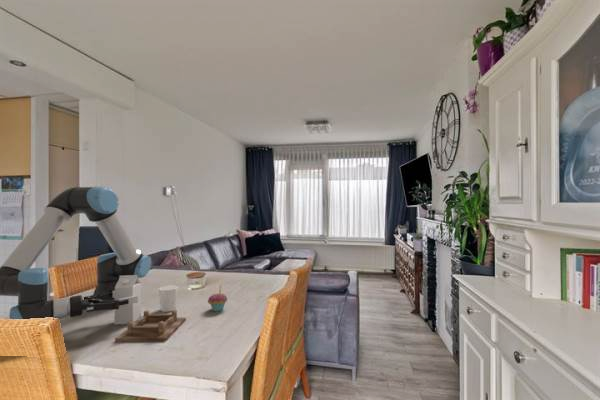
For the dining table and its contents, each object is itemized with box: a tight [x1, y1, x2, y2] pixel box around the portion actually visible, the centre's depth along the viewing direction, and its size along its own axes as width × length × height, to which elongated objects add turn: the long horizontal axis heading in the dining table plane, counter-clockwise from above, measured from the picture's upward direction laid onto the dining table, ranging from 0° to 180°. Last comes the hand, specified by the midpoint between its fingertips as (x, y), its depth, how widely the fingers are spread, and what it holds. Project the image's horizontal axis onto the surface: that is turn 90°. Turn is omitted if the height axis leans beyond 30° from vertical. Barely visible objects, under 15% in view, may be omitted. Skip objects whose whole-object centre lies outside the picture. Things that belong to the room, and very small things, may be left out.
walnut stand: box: [114, 309, 187, 343], centre depth 109 cm, size 18×18×5 cm
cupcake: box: [207, 284, 228, 312], centre depth 131 cm, size 9×8×12 cm
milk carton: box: [114, 275, 142, 325], centre depth 118 cm, size 7×7×19 cm
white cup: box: [158, 284, 179, 313], centre depth 131 cm, size 8×8×10 cm
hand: (133, 295), depth 119 cm, fingers open, 13 cm apart
